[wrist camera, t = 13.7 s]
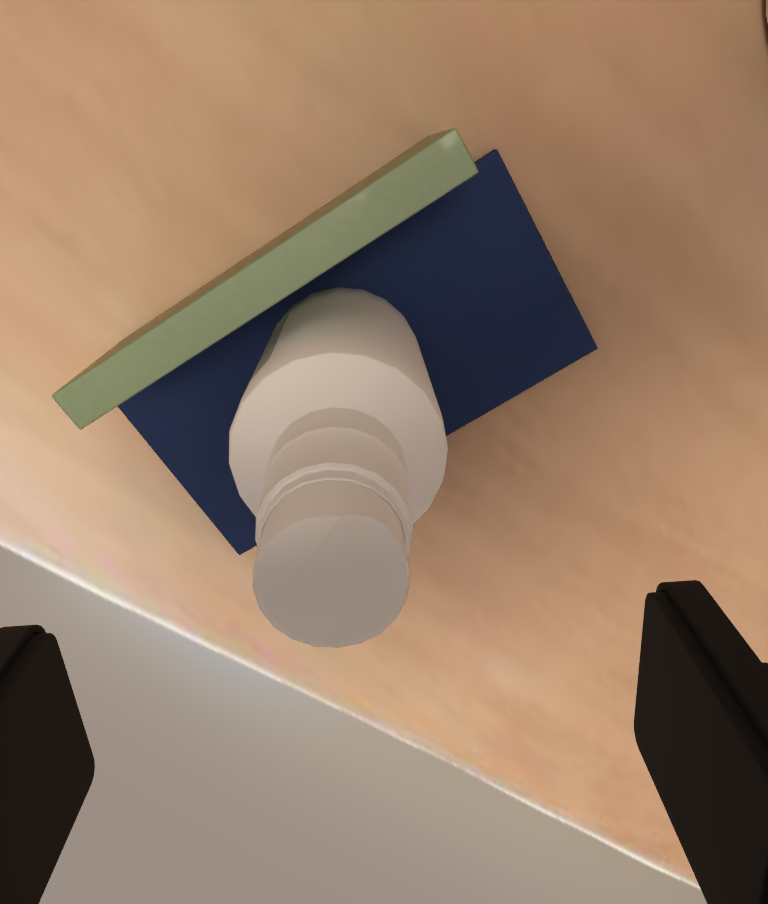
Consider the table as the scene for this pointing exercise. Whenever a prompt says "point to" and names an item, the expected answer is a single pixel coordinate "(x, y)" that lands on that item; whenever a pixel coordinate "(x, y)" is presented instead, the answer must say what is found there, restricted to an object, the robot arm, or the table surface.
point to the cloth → (428, 314)
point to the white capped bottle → (337, 465)
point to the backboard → (270, 275)
